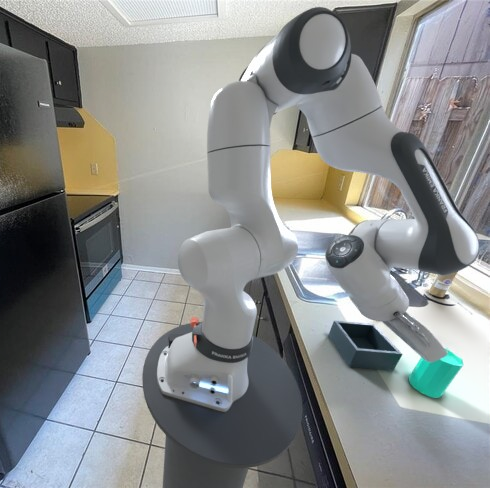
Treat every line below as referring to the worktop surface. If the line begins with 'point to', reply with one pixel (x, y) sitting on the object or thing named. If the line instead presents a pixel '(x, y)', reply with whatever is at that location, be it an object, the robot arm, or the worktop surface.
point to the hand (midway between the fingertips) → (405, 336)
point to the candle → (435, 374)
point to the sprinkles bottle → (441, 284)
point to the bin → (364, 346)
